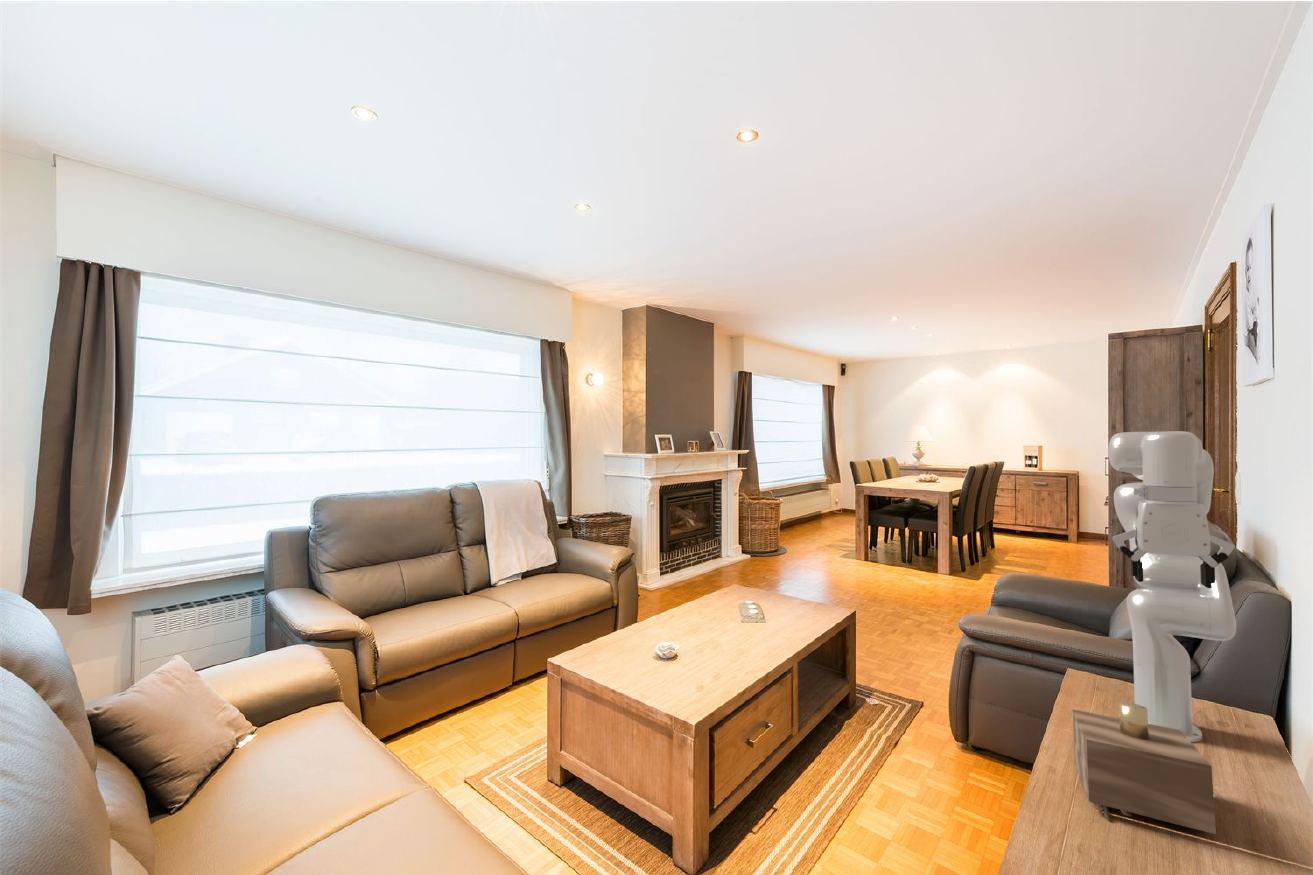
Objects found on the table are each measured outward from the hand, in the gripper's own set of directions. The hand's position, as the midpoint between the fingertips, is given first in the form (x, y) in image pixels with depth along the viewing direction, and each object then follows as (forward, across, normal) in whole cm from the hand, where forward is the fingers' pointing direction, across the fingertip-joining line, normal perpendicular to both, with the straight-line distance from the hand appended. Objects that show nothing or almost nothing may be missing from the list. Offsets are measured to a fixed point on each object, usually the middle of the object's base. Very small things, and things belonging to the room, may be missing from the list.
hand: (1171, 583), depth 104 cm
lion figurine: (+39, -10, -13) cm, 42 cm away
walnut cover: (+37, -8, -11) cm, 40 cm away
